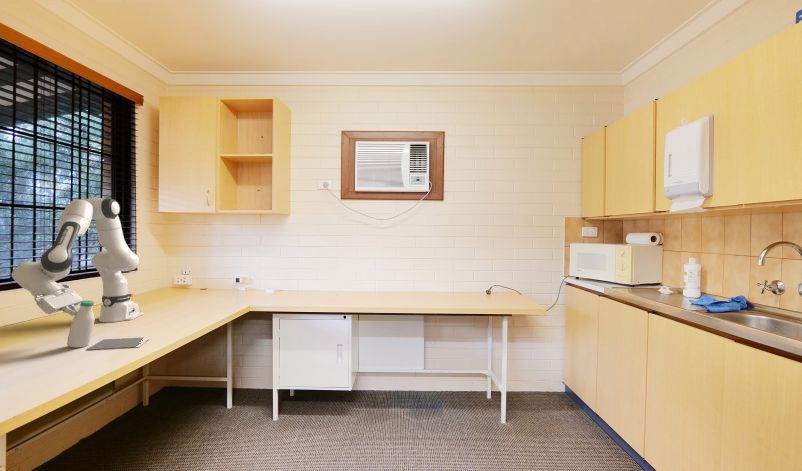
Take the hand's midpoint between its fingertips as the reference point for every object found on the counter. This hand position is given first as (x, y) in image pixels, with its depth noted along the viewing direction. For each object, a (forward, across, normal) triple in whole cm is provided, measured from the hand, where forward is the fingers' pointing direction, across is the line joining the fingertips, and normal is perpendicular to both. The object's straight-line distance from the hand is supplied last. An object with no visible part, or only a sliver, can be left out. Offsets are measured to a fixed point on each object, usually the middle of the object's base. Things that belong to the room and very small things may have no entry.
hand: (75, 314), depth 159 cm
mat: (+22, +1, -2) cm, 22 cm away
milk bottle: (+10, +1, +10) cm, 14 cm away
